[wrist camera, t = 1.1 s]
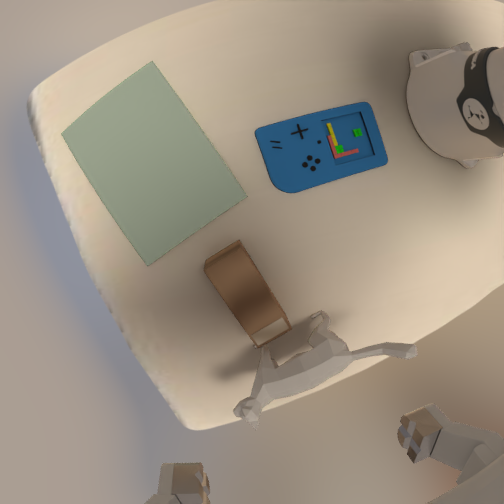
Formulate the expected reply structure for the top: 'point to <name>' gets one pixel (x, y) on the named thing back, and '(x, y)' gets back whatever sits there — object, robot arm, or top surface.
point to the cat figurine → (308, 368)
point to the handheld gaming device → (321, 147)
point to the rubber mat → (151, 163)
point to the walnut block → (247, 294)
